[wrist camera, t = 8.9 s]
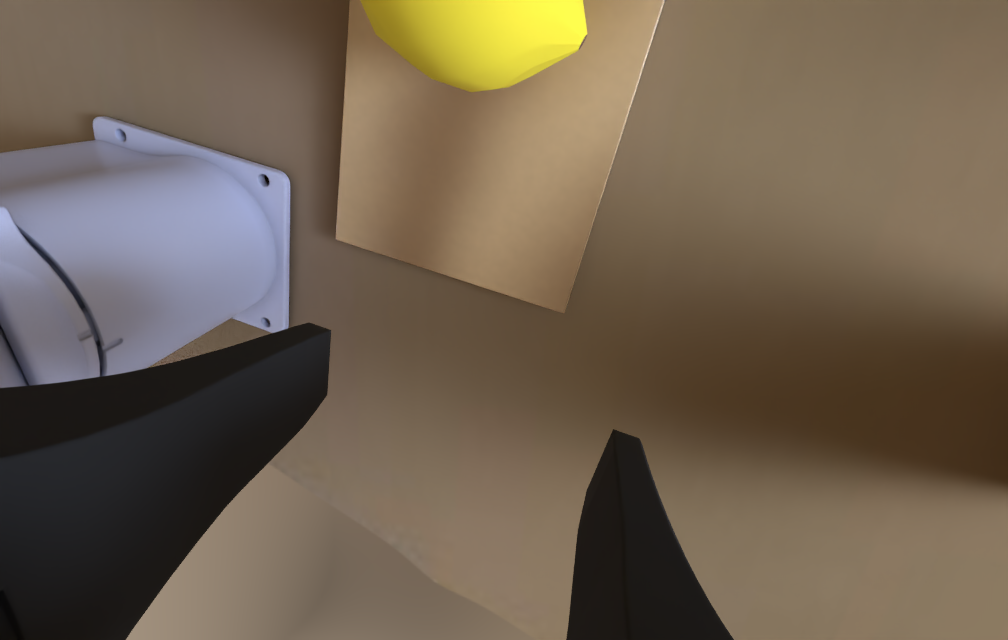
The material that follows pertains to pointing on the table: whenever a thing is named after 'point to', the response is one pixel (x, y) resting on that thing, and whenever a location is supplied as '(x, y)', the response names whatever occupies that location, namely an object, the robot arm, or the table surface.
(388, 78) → the birch board
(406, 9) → the lemon
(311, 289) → the table surface
